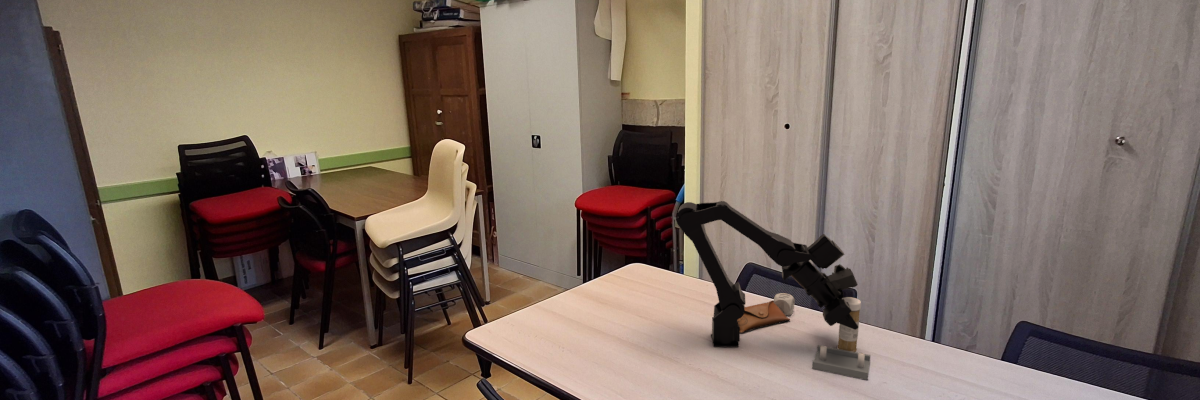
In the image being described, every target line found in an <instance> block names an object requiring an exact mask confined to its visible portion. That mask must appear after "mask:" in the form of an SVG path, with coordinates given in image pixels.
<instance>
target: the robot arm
mask: <svg viewBox="0 0 1200 400" xmlns="http://www.w3.org/2000/svg"><path fill="white" fill-rule="evenodd" d="M675 221H676V224H677V226H678V227H679V228H680V229H681V231H682V232H683V234H684V236H686V237H687V238H688V239H689V240H690V241H691V242H692V244H693V246H694V247H695V250H696V252H697V253H698V255H699V257H700V260H701V262H702V264H703V266H704V268H705V271H707V273H708V275H709V277H710V280H711V281H712V283H713V286H714V287H715V290H716V294H717V299H718V302H717V303H716V304H715V305H714V308H713V317H712V319H711V334H710V338H711V341H712V346H713V347H714V348H715V347H716V348H719V347H720V348H738V347H739V346H740V345H739V342H740V340H741V339H740V337H741V333H740V326H739V324H738V321H737V319H739V318H741V317H742V316H743V315H744V312H745V307H746V306H745V305H746V294H745V292H744V291H743V290H742V288H741V285H740V282H739V281H737V282H735V283H733V281H732V280H730V278H729V277H728V275H727V272H726V271H725V269H724V266H723V264H722V263H721V260H720V258H719V257H718V255H717V252H716V250H715V248H714V246H713V244H712V243H711V240H710V238H709V236H708V234H707V232H706V228H705V225H707V224H709V223H712V222H715V221H722V222H724V223H725V224H726V225H728V226H729V227H731V228H733V229H734V230H735V231H737V232H738V233H740V234H741V235H743V236H744V237H745V238H747V239H748V240H750V241H752V242H753V243H755V245H757V246H759V247H760V249H762V251H763V252H764V253H765V254H766V255H767V256H768V257H769V258H770V259H771V260H772V261H773V262H775V264H777V265H778V266H779V267H781V277H782V280H784V281H785V280H787V279H788V278H789V277H792V279H794V280H795V281H796V282H797V283H798V285H800V287H801V288H802V289H804V291H805V294H806V295H807V296H808V297H809V296H810V297H811V298H812V299H814V301H815V302H816V305H817V306H818V307H819V308H823V307H824V308H823V309H822V317H823V319H824V322H826V324H828V326H829V327H832V326H834V325H836V324H839V325H840V324H842V325H844V326H847V327H849V328H852V329H854V330H856V329H857V328H858V329H860V326H859V327H858V325H857V324H856V322H855V321H854V319H853V318H852V316H851V315H850V312H851V308H850V306H849V304H848V302H846V301H845V300H844V299H842V298H844V295H845V294H844V291H845V290H848V289H850V288H856V287H857V286H858V281H857V279H856V277H855V275H854V273H853V271H852V268H849V267H847V266H846V267H844V266H843V265H842V264H841V263H840V264H837V265H835V266H834V270H833V272H831V274H829V275H827V273H825V272H821V271H820V270H819V269H822V270H824V269H826V270H827V269H828V268H829V267H830V266H832V265H833V264H835V263H836V262H837V261H838V260H840V259H841V258H842V257H843V256H845V253H844V251H843V250H842V249H841V247H839V245H838V244H836V242H835V241H834V240H832V239H831V238H830V237H828V236H827V235H826V234H825V233H823V234H821V235H820V236H818V238H817V239H816V240H815V241H814V242H813V243H812V244H810V245H809V246H808V245H807V244H803V243H797V242H793V241H792V240H791V239H790V238H787V237H785V236H783V235H780V234H779V233H776V232H771V231H769V230H767V229H765V227H762V226H761V225H759V224H758V223H756V222H755V221H753V220H752V219H750V218H749V217H747V216H746V215H745V214H743V213H741V212H740V211H739V210H737V209H736V208H734V207H732V206H731V205H730V204H729V203H728V202H727V201H724V200H719V201H715V202H700V203H695V202H692V201H691V202H690V201H688V202H685V203H683V204H681V205H680V206H679V209H678V210H677V213H676V216H675ZM812 263H813V264H812Z"/></svg>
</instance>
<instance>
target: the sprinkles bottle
mask: <svg viewBox="0 0 1200 400" xmlns="http://www.w3.org/2000/svg"><path fill="white" fill-rule="evenodd" d="M842 299H844V300H845V301H846V302H848V304H849V306H850V308H851V312H850V315H851V316H852V318H853V319H854V321H855V322H856V324H857V325H858V327H859V328H860V311H861V309H862V302H861V300H860V299H858V298H856V297H852V296H844V297H843V298H842ZM859 328H857V329H856V330H854V329H852V328H849V327H847V326H844V325H842V324H839V326H838V344H837V349H841V350H846V351H852V352H857V351H858V348H857V345H858V344H857V343H858V336H859Z"/></svg>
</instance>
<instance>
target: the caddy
mask: <svg viewBox="0 0 1200 400" xmlns="http://www.w3.org/2000/svg"><path fill="white" fill-rule="evenodd" d="M816 349H817V350H816V354H815V356H814V359H813V360H812V364H811V369H812V370H815V371H816V370H817V371H822V372H826V373H832V374H837V375H841V376H846V377H852V378H856V379H861V380H864V381H868V379H869V378H868V377H869V370H870V363H871V354H866V353H862V352H857V351H856V352H852V351H846V350H841V349H838V348H835V347H830V346H825V345H819V344H818V345H817V348H816Z"/></svg>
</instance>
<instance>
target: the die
mask: <svg viewBox="0 0 1200 400" xmlns="http://www.w3.org/2000/svg"><path fill="white" fill-rule="evenodd" d="M773 301H774V303H775V304H776V305H777V306H778V307H779V309H780V310H781V311H782V312H783V313H784V314H785V316H786V317H787V316H791V315H792V314H793V313H794V310H795V302H796V301H795V298H794V296H793V295H791V294H789V293H784V292H781V293H780V292H779V293H776V294H775V295H774V298H773Z"/></svg>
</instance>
